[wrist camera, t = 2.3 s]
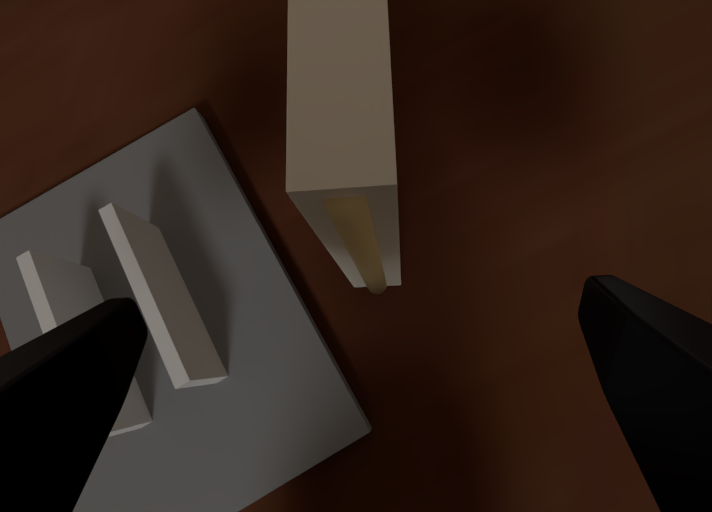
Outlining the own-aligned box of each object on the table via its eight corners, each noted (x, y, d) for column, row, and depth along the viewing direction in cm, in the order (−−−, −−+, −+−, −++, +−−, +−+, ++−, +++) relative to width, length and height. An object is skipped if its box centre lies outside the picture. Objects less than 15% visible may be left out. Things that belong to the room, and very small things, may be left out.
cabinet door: (401, 294, 20) (398, 206, 8) (354, 297, 20) (285, 213, 8) (394, 164, 21) (383, -67, 10) (351, 167, 21) (288, -55, 10)
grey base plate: (371, 427, 19) (362, 449, 14) (110, 585, 18) (18, 657, 14) (203, 117, 23) (156, 62, 19) (-9, 239, 23) (-107, 212, 18)
